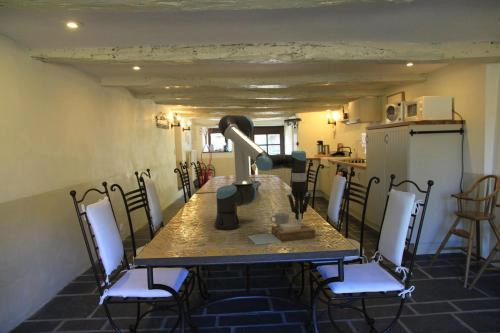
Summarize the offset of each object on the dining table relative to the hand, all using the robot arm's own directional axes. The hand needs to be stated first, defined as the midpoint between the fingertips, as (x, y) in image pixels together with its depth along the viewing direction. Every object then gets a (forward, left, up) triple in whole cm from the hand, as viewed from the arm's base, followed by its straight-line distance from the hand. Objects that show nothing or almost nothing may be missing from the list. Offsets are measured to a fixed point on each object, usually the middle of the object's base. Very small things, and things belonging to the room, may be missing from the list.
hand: (299, 225), depth 169 cm
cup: (-18, -4, -5) cm, 19 cm away
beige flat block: (0, -5, -1) cm, 5 cm away
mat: (0, -20, -5) cm, 20 cm away
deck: (0, -4, -5) cm, 6 cm away
